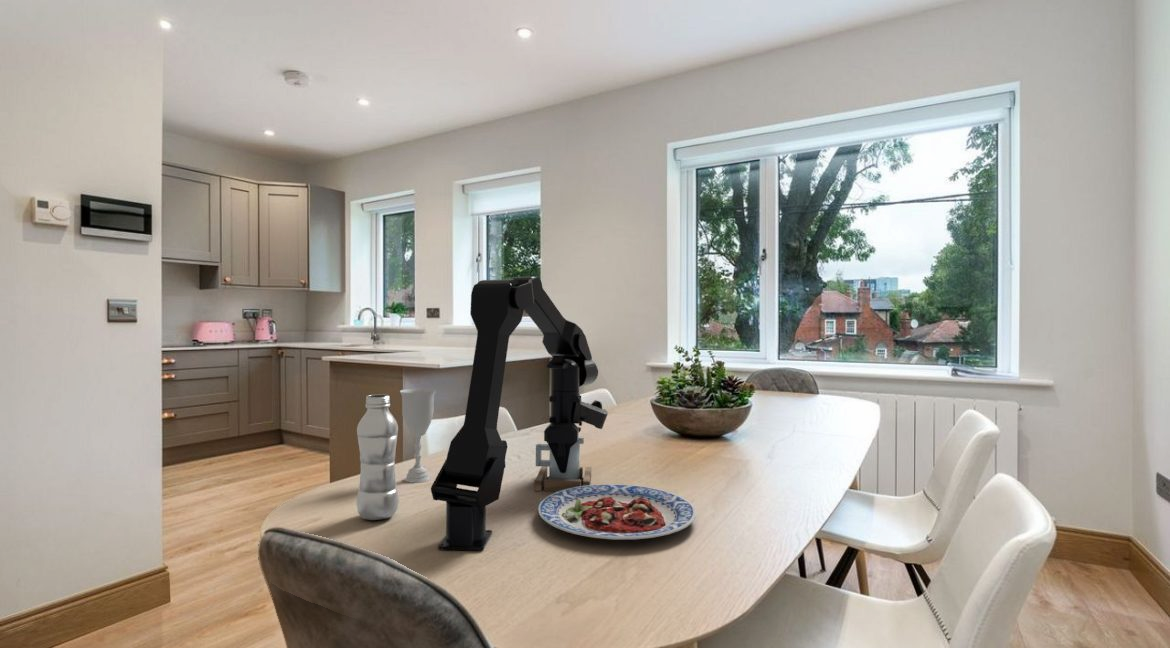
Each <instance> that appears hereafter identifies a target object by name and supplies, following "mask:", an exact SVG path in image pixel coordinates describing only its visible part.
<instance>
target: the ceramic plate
mask: <svg viewBox="0 0 1170 648" xmlns="http://www.w3.org/2000/svg"><path fill="white" fill-rule="evenodd" d="M537 510H538V511H537V512H538V515H539V516H540V518H541V519H542V520H543V521H544V522H545V523H547V524H548V525H549V526H552V527H554V528H556V529H558V530H561V531H562V532H566V533H570V534H573V535H578V536H581V537H582V536H583V537H587V538H592V539H593V538H594V539H603V540H614V541H615V540H618V541H619V540H641V539H653V538H658V537H662V536H668V535H671V534H674V533H677V532H680V531H682V530H684V529H686V528H688V527H689V526H690V525H692V524H693V522H694V521H695V520H696V518H697V510H696V508H695V506H694V505H693V504H692V503H691V502H690V501H689V500H687V499H685V498H684V497H682V496H680V495H678V494H675V493H672V492H669V491H666V490H663V489H660V488H659V489H658V488H654V487H649V486H643V485H633V484H624V483H622V484H621V483H602V484H601V483H600V484H590V485H586V486H583V485H580V486H579V487H574V488H569V489H565V490H561V491H555V492H553V493H552V494H550V495H548V496H546V497H545V498H543V500H541V501H540V503H539V505H538V506H537Z"/></svg>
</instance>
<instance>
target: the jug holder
mask: <svg viewBox="0 0 1170 648" xmlns="http://www.w3.org/2000/svg"><path fill="white" fill-rule="evenodd" d="M583 470H584V467H583V466H580V474H579V480H575V479H549V478H548V467H545V466H540V468H539V471H538V474H537V476H536V477H535V479H534V491H535V492H541V491H542V490H544V492H559V491H561V490H565V489H569V488H574V487H579V486H581V479H583V481H582V484H583V485H582V486H586V485H592V484H591V483H592V482H591V481H592V466H585V470H584V472H583ZM543 487H544V489H543Z"/></svg>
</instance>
